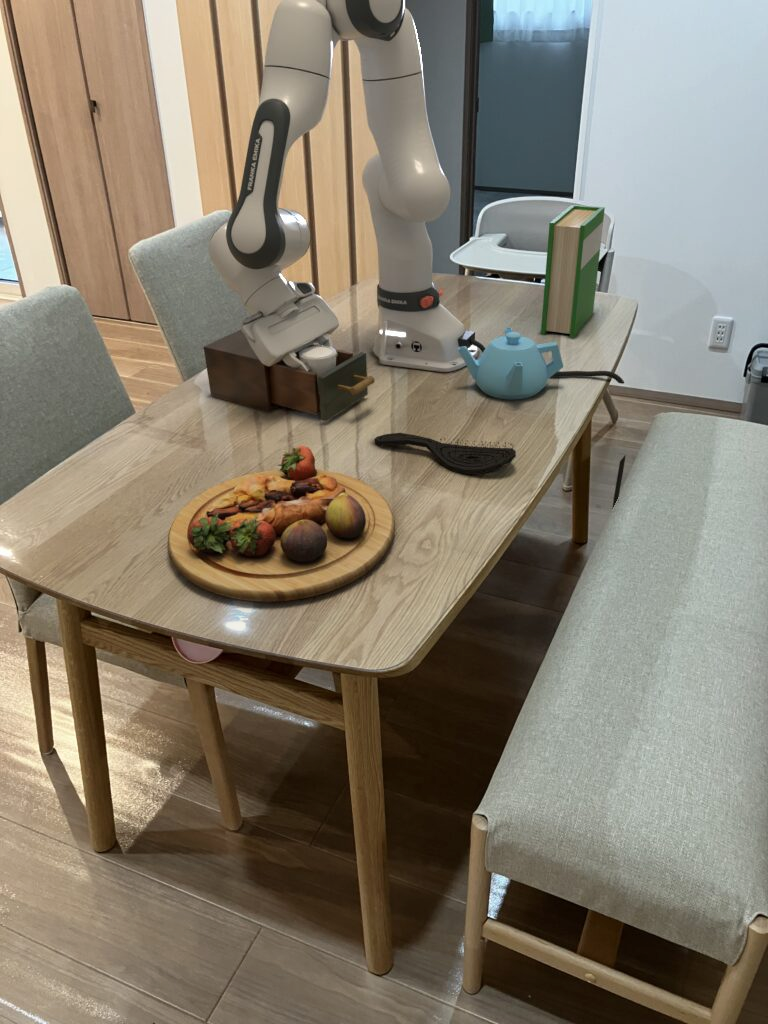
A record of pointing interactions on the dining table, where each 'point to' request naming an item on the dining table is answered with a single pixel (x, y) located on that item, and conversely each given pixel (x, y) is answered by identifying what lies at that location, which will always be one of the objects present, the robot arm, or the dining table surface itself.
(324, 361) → the white cylinder
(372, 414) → the dining table surface
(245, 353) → the cabinet
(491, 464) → the hairbrush
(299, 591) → the wooden plate
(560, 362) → the teapot
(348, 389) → the drawer
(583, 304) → the hardback book
